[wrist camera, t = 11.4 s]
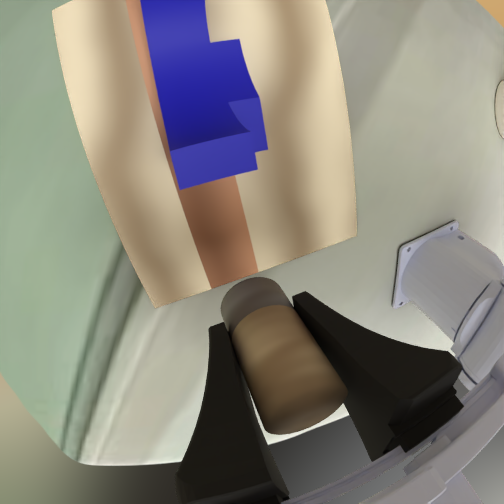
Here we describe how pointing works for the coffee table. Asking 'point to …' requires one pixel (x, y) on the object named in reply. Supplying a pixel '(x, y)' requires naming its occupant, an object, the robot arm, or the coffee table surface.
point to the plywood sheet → (226, 189)
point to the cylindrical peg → (280, 358)
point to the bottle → (500, 108)
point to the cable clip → (202, 94)
